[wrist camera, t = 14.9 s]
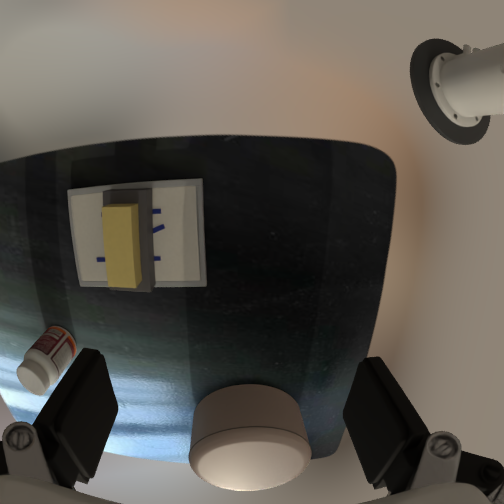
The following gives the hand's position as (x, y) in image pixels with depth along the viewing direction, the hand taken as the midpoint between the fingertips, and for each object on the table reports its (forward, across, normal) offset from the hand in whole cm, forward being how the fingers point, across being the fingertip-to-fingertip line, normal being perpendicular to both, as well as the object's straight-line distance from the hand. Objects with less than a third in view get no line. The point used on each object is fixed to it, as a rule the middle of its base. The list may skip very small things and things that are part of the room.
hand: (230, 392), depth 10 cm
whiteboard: (+27, +12, +1) cm, 30 cm away
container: (+27, -3, +32) cm, 42 cm away
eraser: (+26, +12, +1) cm, 29 cm away
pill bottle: (+27, +28, +19) cm, 43 cm away
